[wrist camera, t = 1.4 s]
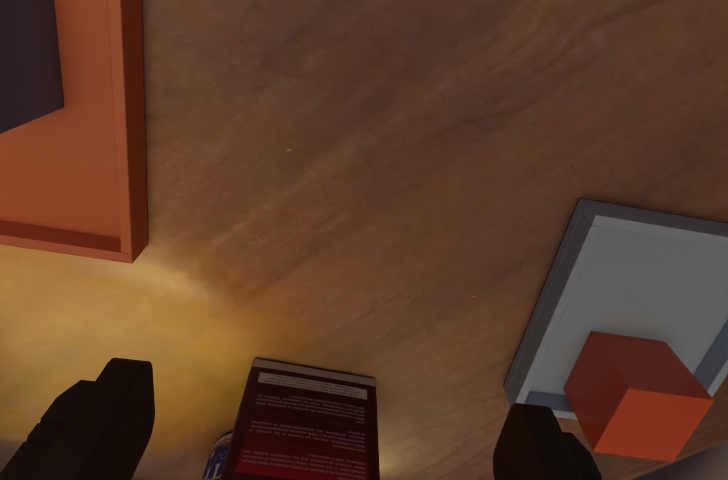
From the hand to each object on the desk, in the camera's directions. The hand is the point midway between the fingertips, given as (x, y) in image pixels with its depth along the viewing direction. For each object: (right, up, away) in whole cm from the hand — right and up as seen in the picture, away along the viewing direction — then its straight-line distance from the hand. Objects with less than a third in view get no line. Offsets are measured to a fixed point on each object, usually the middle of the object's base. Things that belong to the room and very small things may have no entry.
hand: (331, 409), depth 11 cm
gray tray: (+18, -1, +20) cm, 27 cm away
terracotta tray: (-17, +11, +14) cm, 25 cm away
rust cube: (+17, -4, +21) cm, 28 cm away
